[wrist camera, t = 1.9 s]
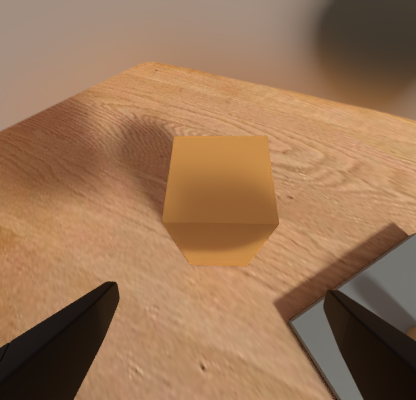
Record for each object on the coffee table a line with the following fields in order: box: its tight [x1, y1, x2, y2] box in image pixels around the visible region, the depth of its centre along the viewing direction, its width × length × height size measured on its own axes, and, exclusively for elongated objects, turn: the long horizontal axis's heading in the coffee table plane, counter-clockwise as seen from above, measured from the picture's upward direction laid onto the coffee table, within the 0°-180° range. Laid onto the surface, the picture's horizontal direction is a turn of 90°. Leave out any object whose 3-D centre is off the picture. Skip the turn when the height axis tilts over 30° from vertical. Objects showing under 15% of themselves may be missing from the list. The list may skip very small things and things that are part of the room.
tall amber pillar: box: [162, 136, 279, 267], centre depth 16 cm, size 6×6×12 cm
